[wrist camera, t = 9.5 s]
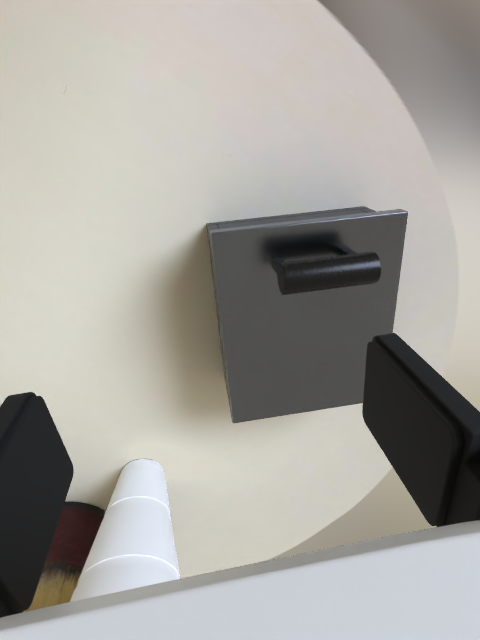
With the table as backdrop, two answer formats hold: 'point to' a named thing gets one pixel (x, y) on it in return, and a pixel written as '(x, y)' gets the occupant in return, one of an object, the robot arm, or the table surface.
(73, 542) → the vase
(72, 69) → the table surface
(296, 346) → the lid
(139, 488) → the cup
